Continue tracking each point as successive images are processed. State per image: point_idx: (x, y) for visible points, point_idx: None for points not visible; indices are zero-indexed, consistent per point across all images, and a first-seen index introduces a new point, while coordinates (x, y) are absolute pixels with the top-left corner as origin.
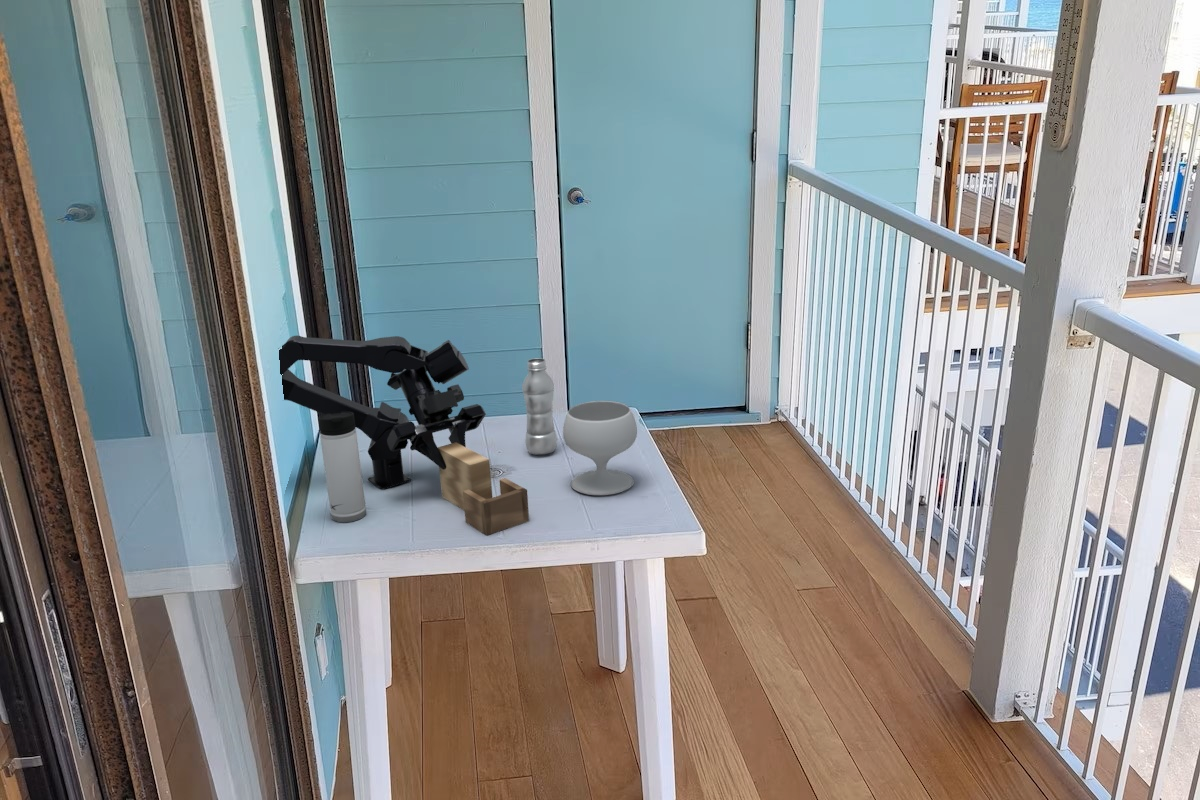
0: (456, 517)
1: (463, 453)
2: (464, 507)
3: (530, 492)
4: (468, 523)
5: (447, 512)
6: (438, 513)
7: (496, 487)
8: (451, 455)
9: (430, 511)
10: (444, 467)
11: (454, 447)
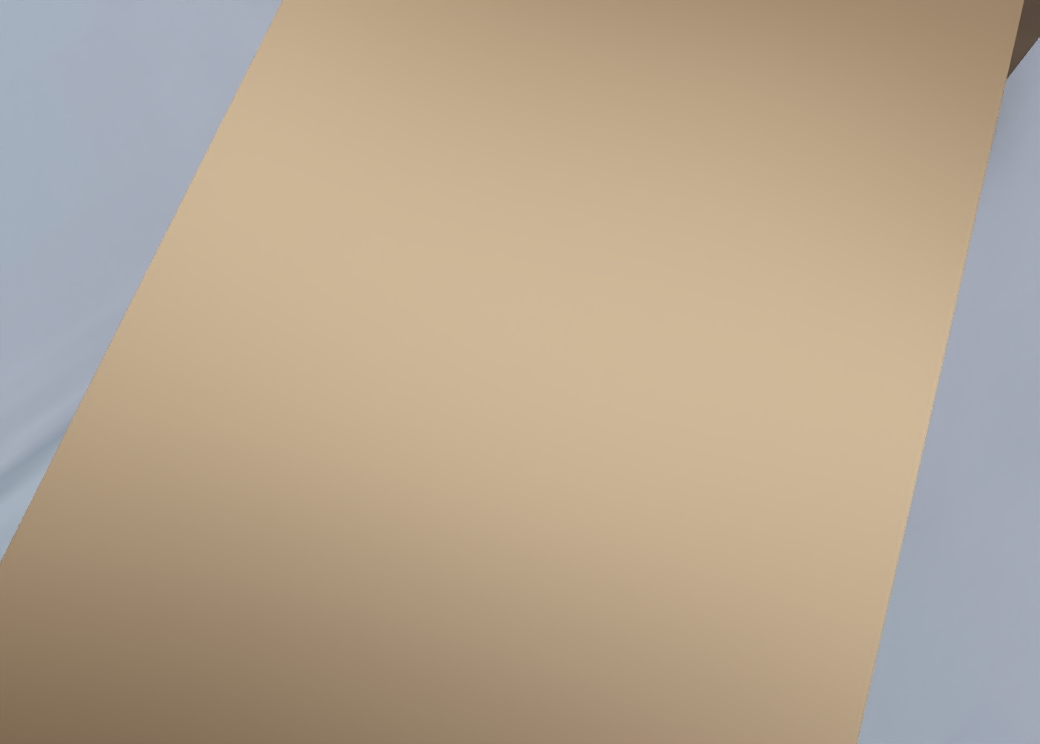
0: None
1: (635, 20)
2: (1033, 41)
3: (4, 56)
4: None
5: None
6: (970, 580)
7: (5, 462)
8: (959, 259)
9: (993, 718)
10: None
11: (309, 691)
